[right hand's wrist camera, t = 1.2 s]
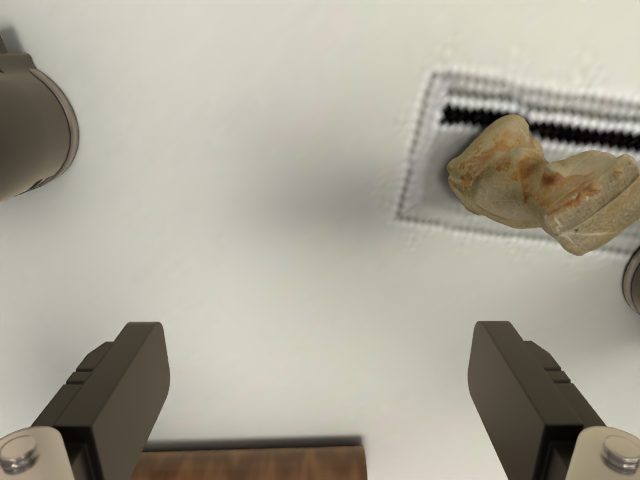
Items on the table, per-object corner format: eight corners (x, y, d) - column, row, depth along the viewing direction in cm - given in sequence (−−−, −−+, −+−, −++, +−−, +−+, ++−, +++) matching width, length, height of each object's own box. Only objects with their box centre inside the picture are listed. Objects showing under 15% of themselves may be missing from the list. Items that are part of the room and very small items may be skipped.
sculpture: (542, 159, 36) (686, 223, 22) (464, 212, 37) (552, 304, 24) (506, 98, 34) (638, 127, 20) (426, 157, 36) (497, 220, 22)
